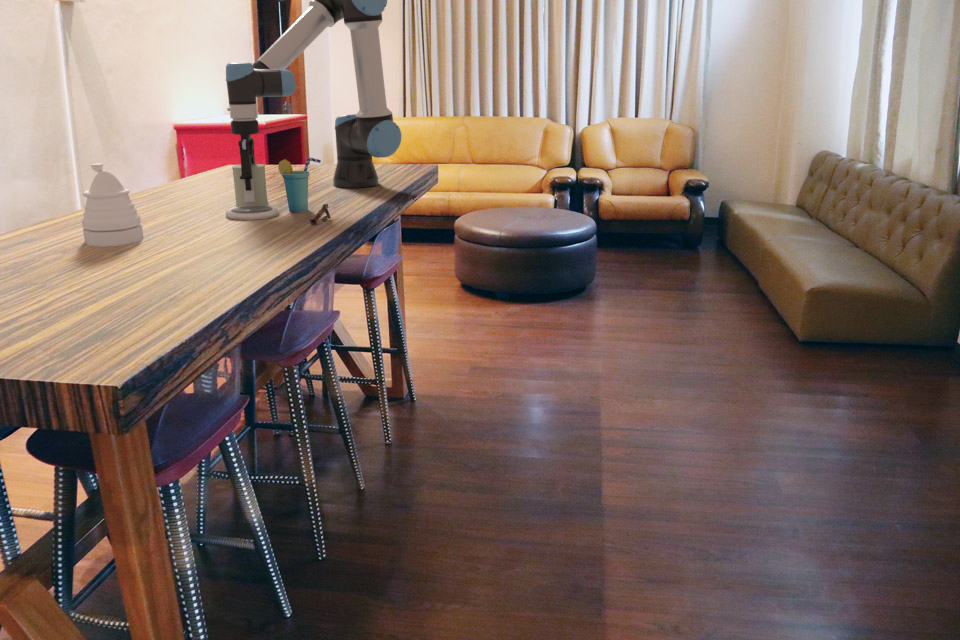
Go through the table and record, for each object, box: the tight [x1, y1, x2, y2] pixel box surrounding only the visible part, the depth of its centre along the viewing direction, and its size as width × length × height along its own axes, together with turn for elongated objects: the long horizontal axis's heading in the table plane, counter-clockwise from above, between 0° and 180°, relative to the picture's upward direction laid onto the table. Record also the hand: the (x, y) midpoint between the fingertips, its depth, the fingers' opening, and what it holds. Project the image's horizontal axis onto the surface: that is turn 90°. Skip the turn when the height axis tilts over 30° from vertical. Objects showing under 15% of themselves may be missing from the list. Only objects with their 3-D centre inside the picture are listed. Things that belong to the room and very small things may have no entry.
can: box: [231, 163, 269, 207], centre depth 235 cm, size 9×9×12 cm
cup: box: [278, 157, 322, 213], centre depth 226 cm, size 14×8×15 cm, turn 73°
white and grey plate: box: [225, 205, 280, 221], centre depth 222 cm, size 14×14×2 cm
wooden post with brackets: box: [309, 203, 332, 226], centre depth 213 cm, size 2×8×4 cm, turn 157°
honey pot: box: [81, 163, 144, 248], centre depth 190 cm, size 13×13×18 cm
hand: (251, 198), depth 236 cm, fingers open, 9 cm apart
